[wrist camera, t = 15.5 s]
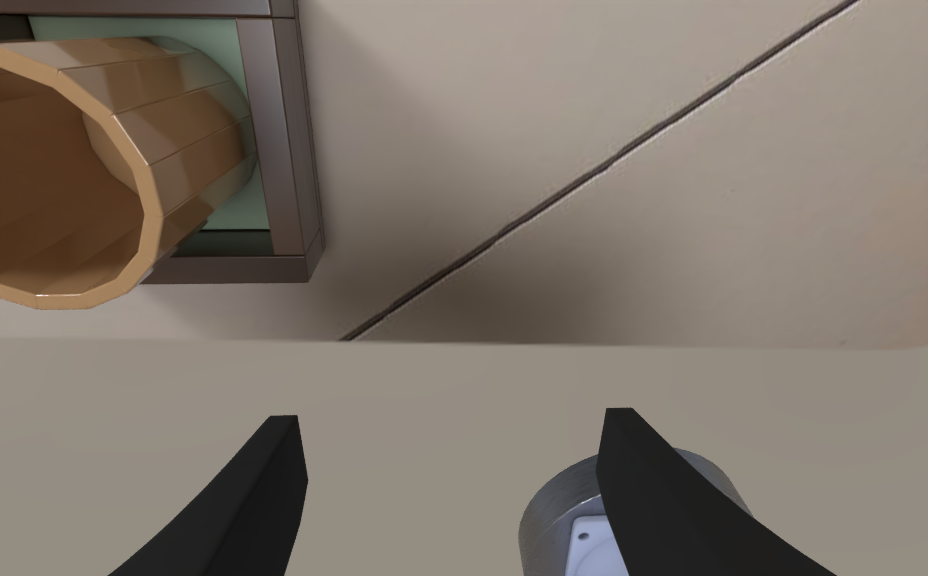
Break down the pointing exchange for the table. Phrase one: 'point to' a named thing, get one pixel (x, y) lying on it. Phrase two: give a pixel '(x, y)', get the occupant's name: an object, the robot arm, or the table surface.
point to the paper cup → (110, 161)
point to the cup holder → (272, 112)
